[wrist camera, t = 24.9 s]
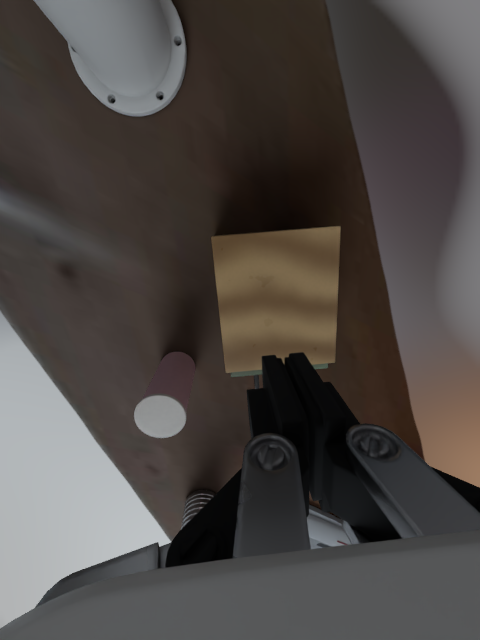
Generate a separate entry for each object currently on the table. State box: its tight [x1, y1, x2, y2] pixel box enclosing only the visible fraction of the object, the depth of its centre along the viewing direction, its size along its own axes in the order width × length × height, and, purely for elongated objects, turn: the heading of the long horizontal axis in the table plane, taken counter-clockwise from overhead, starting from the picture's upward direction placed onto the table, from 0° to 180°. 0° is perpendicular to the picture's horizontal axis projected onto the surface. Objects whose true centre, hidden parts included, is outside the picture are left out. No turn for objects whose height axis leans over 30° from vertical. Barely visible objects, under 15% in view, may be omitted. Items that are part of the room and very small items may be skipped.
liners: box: [134, 352, 195, 438], centre depth 37 cm, size 6×6×12 cm
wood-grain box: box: [211, 226, 341, 373], centre depth 35 cm, size 17×14×9 cm
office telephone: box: [307, 505, 351, 549], centre depth 56 cm, size 23×3×20 cm
